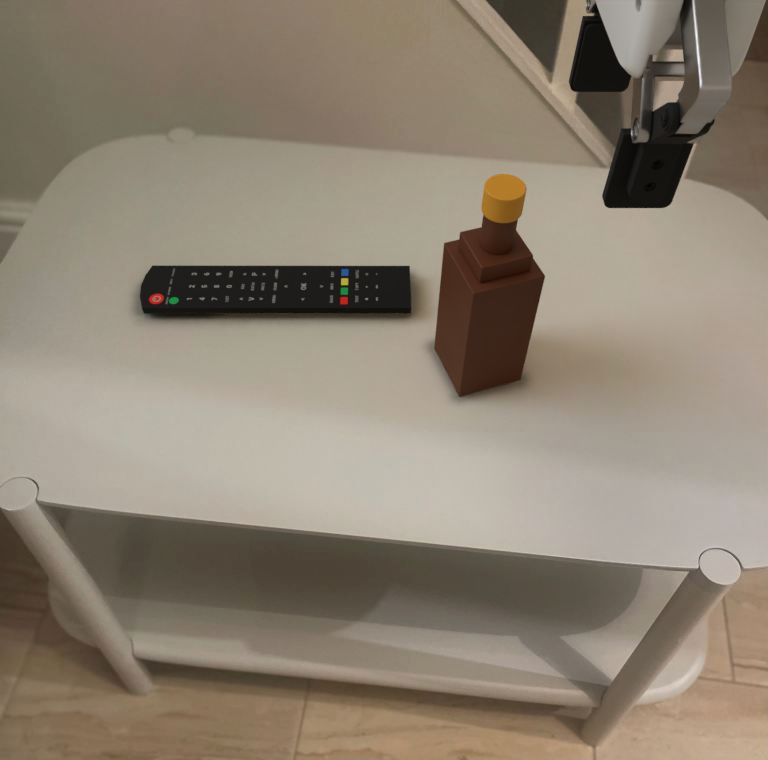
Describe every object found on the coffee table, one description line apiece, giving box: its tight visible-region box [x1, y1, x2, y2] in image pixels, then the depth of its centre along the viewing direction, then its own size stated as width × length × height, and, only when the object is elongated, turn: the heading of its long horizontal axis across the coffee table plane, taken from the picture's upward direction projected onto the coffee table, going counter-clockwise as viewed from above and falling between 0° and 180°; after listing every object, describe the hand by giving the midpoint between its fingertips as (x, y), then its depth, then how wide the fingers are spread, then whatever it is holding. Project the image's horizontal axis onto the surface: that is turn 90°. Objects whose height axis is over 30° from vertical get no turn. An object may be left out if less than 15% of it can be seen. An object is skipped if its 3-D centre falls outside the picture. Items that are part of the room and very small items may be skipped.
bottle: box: [433, 173, 546, 397], centre depth 60 cm, size 6×6×18 cm
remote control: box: [139, 265, 412, 315], centre depth 71 cm, size 5×24×1 cm, turn 91°
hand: (614, 142), depth 41 cm, fingers open, 9 cm apart
